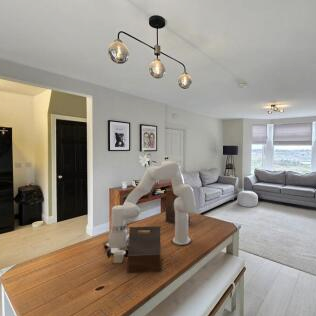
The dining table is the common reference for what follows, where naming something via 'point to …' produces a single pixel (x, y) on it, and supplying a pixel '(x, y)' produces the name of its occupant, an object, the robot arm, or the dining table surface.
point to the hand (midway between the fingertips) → (118, 256)
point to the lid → (144, 240)
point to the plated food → (117, 248)
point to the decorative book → (171, 206)
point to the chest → (144, 262)
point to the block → (118, 256)
